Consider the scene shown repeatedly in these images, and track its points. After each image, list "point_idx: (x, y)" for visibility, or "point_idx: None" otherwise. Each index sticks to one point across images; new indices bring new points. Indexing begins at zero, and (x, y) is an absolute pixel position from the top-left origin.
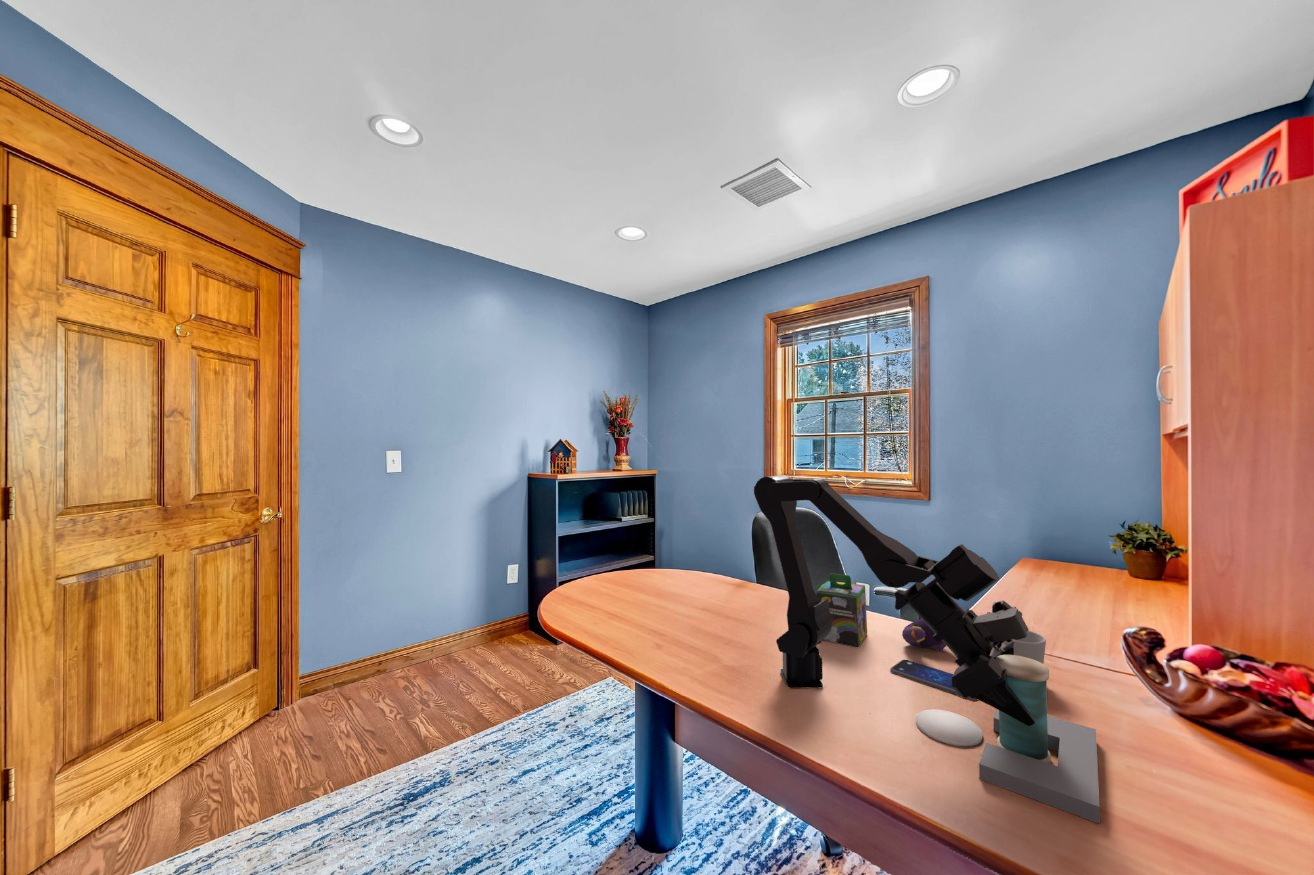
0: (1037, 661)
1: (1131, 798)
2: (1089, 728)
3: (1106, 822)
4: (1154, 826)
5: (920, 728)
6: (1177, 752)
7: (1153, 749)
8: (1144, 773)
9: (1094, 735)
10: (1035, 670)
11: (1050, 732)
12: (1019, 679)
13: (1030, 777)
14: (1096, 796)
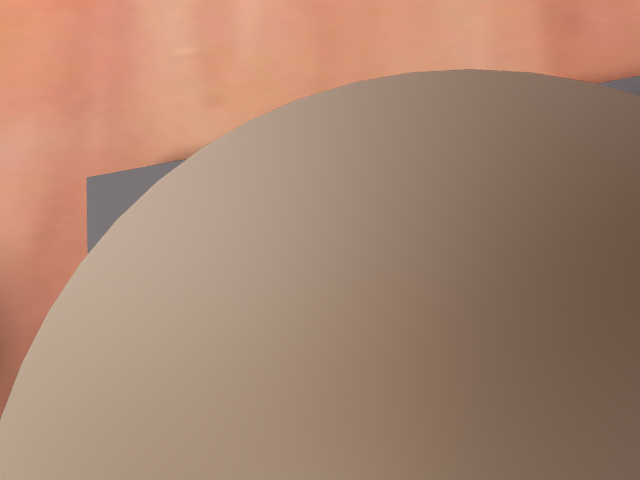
0: (62, 321)
1: (408, 65)
2: (96, 195)
3: None
4: (516, 2)
5: None
6: (25, 27)
7: (49, 71)
8: (221, 65)
9: (142, 172)
10: (599, 248)
11: None
12: None
13: None
14: (622, 86)
